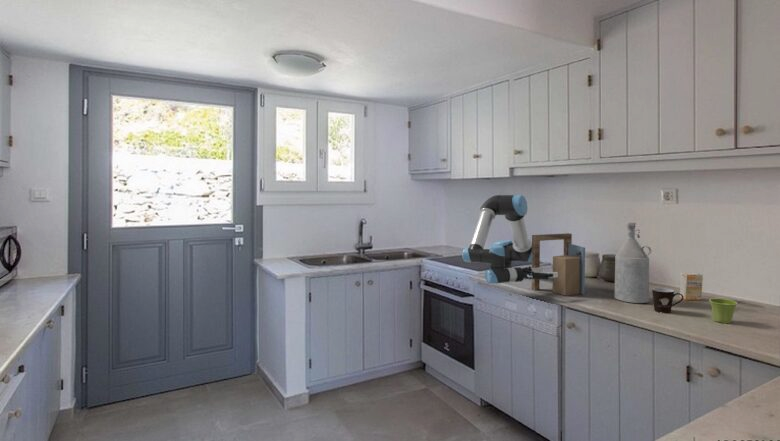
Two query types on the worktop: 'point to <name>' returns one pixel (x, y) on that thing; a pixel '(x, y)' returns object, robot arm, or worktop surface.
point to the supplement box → (691, 286)
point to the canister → (632, 270)
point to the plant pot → (722, 310)
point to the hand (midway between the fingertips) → (549, 272)
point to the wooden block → (566, 275)
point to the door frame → (536, 250)
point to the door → (580, 252)
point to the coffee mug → (664, 299)
